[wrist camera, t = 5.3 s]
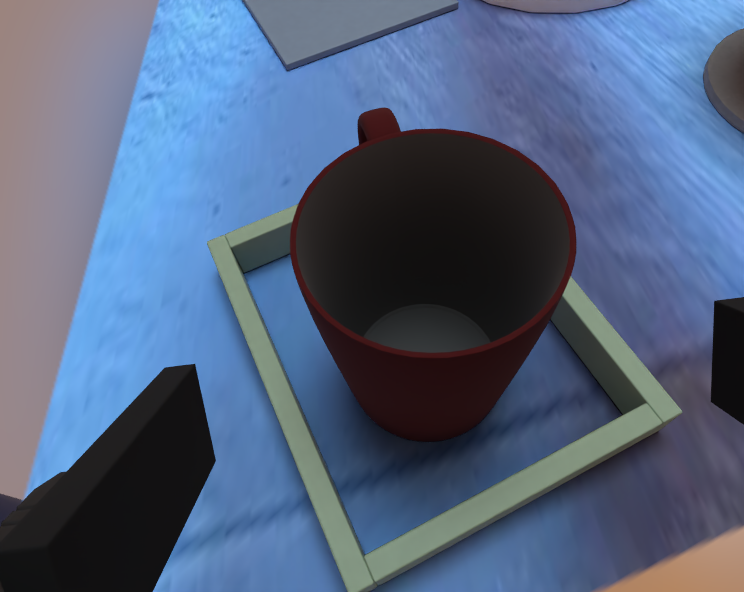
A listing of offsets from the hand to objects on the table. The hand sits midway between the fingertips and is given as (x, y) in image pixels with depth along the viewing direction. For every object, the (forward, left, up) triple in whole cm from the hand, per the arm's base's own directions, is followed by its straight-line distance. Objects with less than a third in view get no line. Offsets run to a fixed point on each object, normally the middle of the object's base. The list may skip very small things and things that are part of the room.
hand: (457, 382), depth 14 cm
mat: (+11, +37, -12) cm, 40 cm away
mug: (+2, +7, -12) cm, 14 cm away
